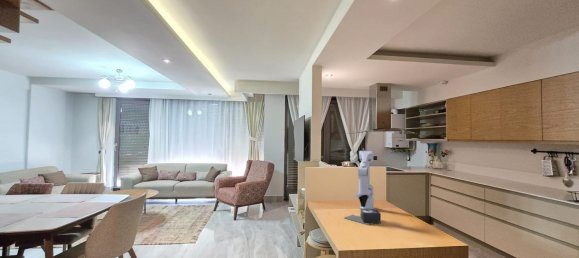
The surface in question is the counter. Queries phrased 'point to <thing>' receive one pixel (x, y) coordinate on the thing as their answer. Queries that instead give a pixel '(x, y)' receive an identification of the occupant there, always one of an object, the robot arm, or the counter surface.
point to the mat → (356, 219)
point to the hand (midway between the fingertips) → (363, 206)
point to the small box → (370, 215)
